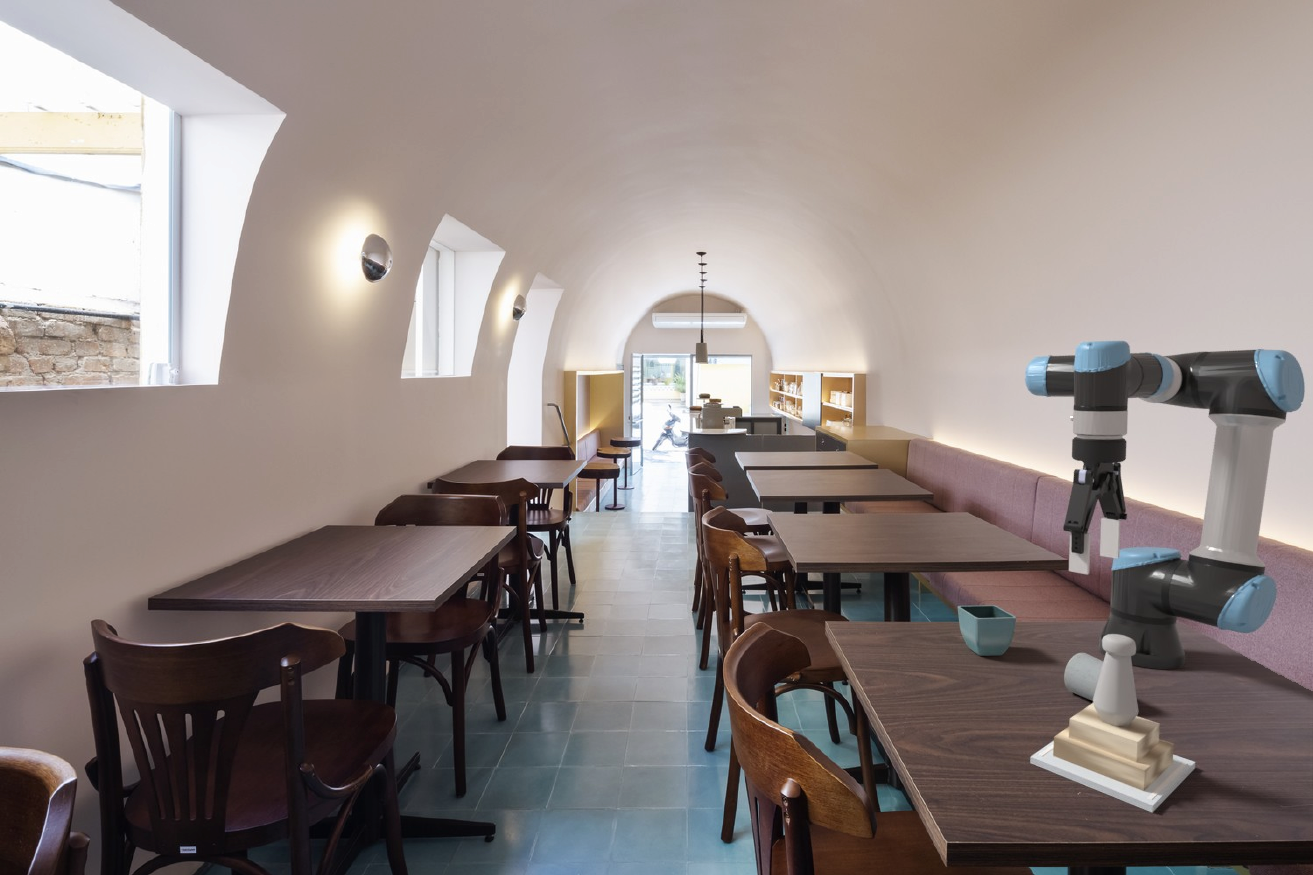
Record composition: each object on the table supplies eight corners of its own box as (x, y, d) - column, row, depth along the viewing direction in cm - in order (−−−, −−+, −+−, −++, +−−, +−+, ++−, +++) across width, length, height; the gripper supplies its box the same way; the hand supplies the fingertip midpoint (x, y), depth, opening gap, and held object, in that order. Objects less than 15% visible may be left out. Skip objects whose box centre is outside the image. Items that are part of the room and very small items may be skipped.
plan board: (1079, 727, 120) (1079, 721, 120) (1194, 768, 107) (1195, 761, 107) (1030, 762, 109) (1030, 756, 109) (1152, 812, 96) (1152, 804, 96)
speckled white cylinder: (1105, 713, 125) (1108, 670, 125) (1061, 694, 133) (1064, 654, 132) (1142, 703, 130) (1145, 662, 129) (1098, 685, 137) (1101, 646, 136)
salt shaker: (1098, 726, 106) (1102, 641, 105) (1087, 709, 111) (1091, 628, 110) (1143, 732, 104) (1148, 645, 103) (1130, 714, 109) (1134, 632, 108)
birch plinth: (1085, 732, 116) (1087, 696, 116) (1172, 762, 107) (1175, 724, 106) (1053, 755, 109) (1054, 717, 108) (1143, 791, 100) (1146, 749, 99)
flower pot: (955, 644, 158) (956, 605, 157) (993, 644, 158) (995, 604, 158) (975, 660, 149) (976, 618, 148) (1015, 659, 150) (1017, 617, 149)
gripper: (1101, 430, 127) (1097, 547, 129) (1042, 441, 111) (1039, 574, 113) (1150, 432, 121) (1145, 554, 123) (1096, 444, 105) (1091, 584, 107)
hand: (1094, 564), depth 118 cm, fingers open, 13 cm apart
